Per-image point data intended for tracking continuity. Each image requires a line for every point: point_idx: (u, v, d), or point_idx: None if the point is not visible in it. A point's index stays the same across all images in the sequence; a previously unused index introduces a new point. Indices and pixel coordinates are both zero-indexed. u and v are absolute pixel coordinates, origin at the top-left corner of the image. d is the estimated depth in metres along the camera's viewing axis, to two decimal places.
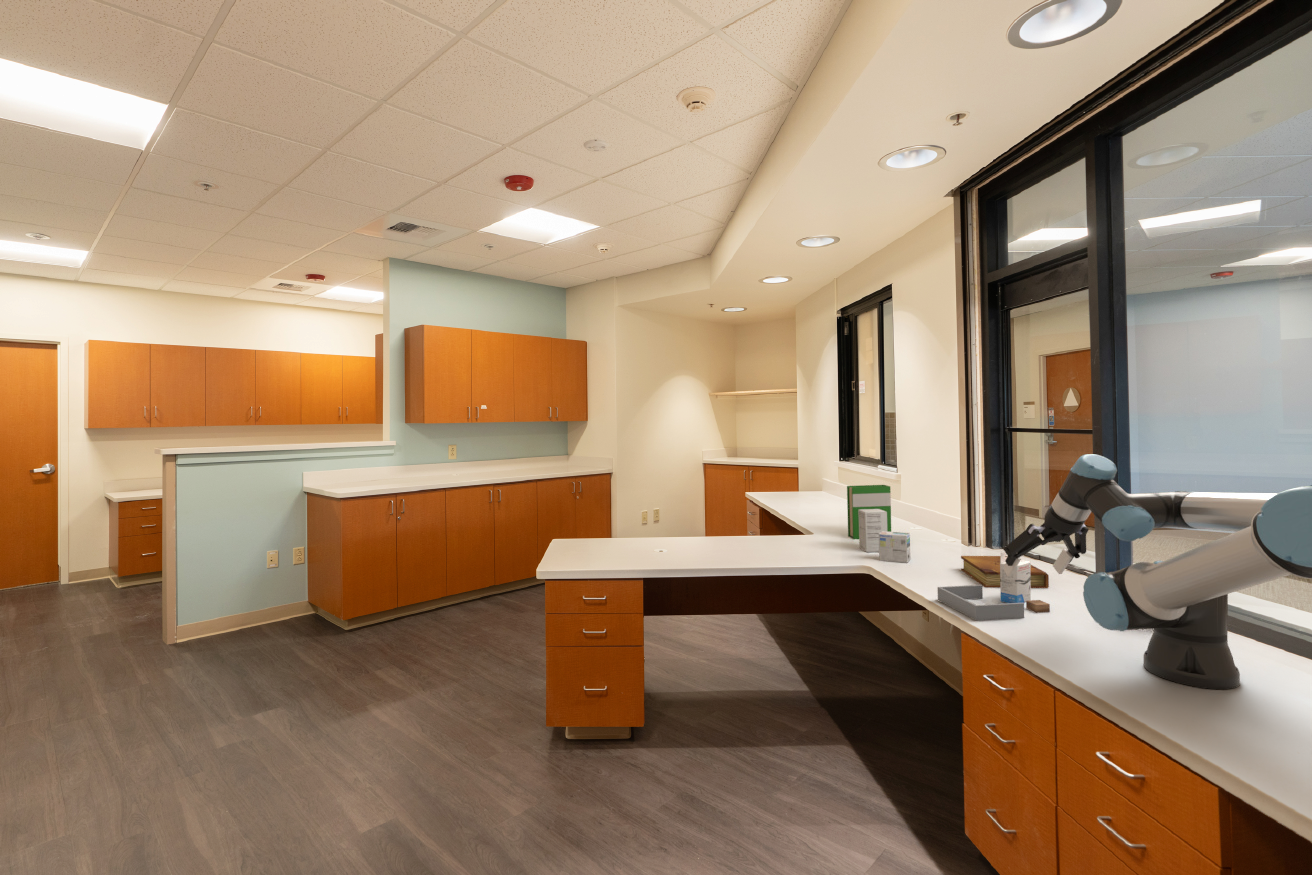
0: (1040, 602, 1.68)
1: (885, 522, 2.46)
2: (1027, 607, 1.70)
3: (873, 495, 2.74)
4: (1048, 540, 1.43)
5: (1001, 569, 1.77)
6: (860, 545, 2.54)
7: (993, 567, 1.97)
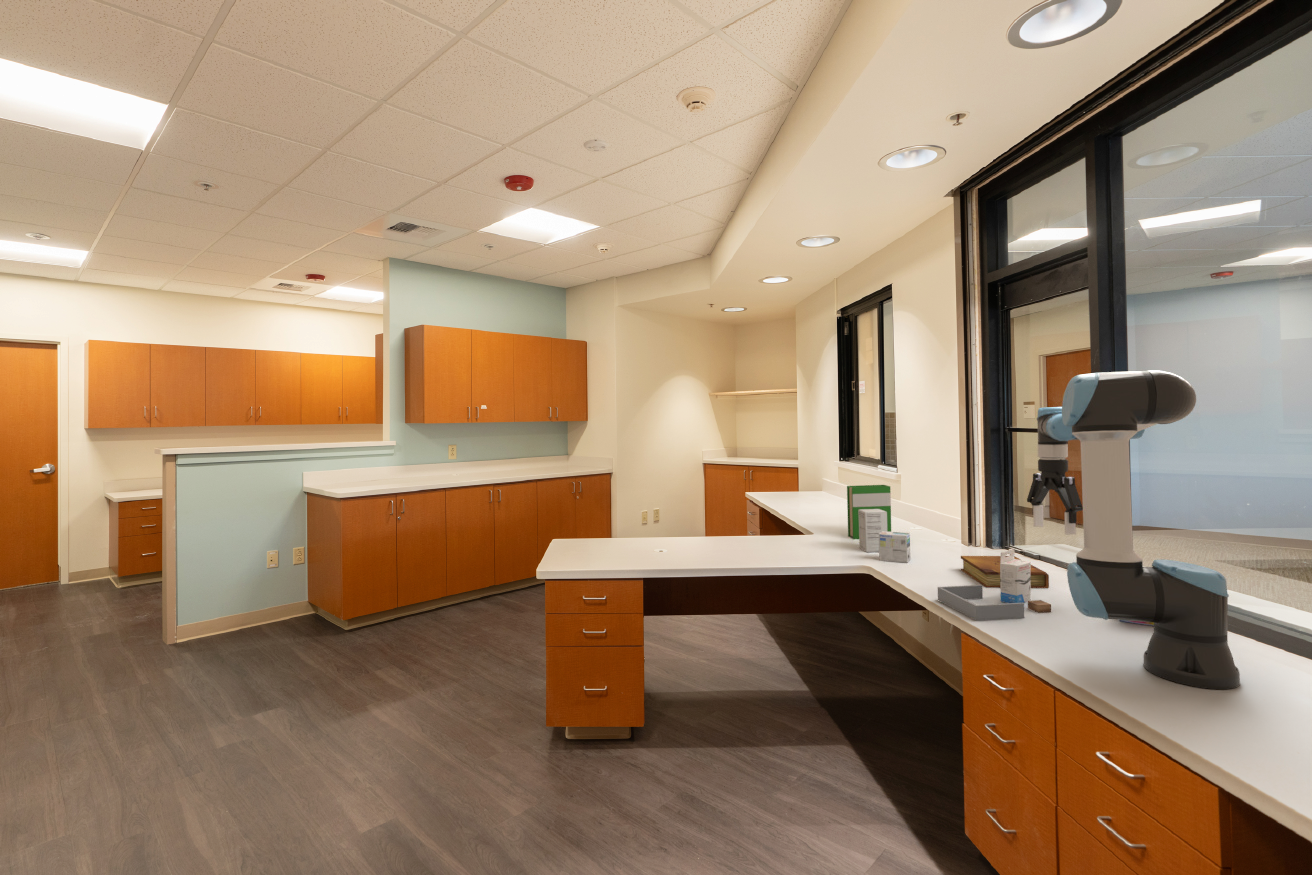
0: (1041, 602, 1.68)
1: (885, 522, 2.46)
2: (1028, 607, 1.70)
3: (873, 495, 2.74)
4: (1041, 484, 1.80)
5: (1001, 569, 1.77)
6: (860, 545, 2.54)
7: (993, 567, 1.97)
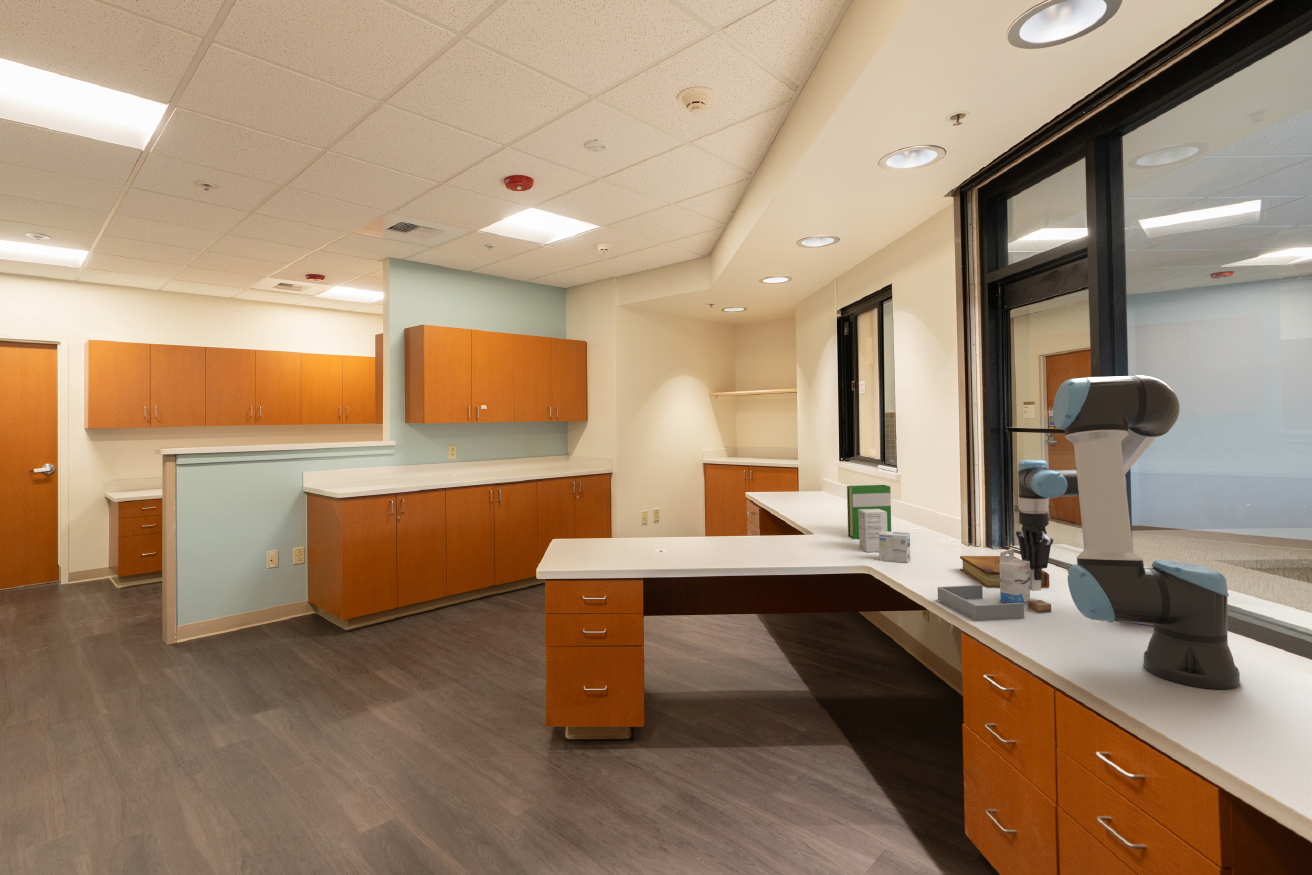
0: (1041, 602, 1.68)
1: (885, 522, 2.46)
2: (1028, 607, 1.70)
3: (873, 495, 2.74)
4: (1025, 538, 1.79)
5: (1001, 569, 1.77)
6: (860, 545, 2.54)
7: (994, 567, 1.97)
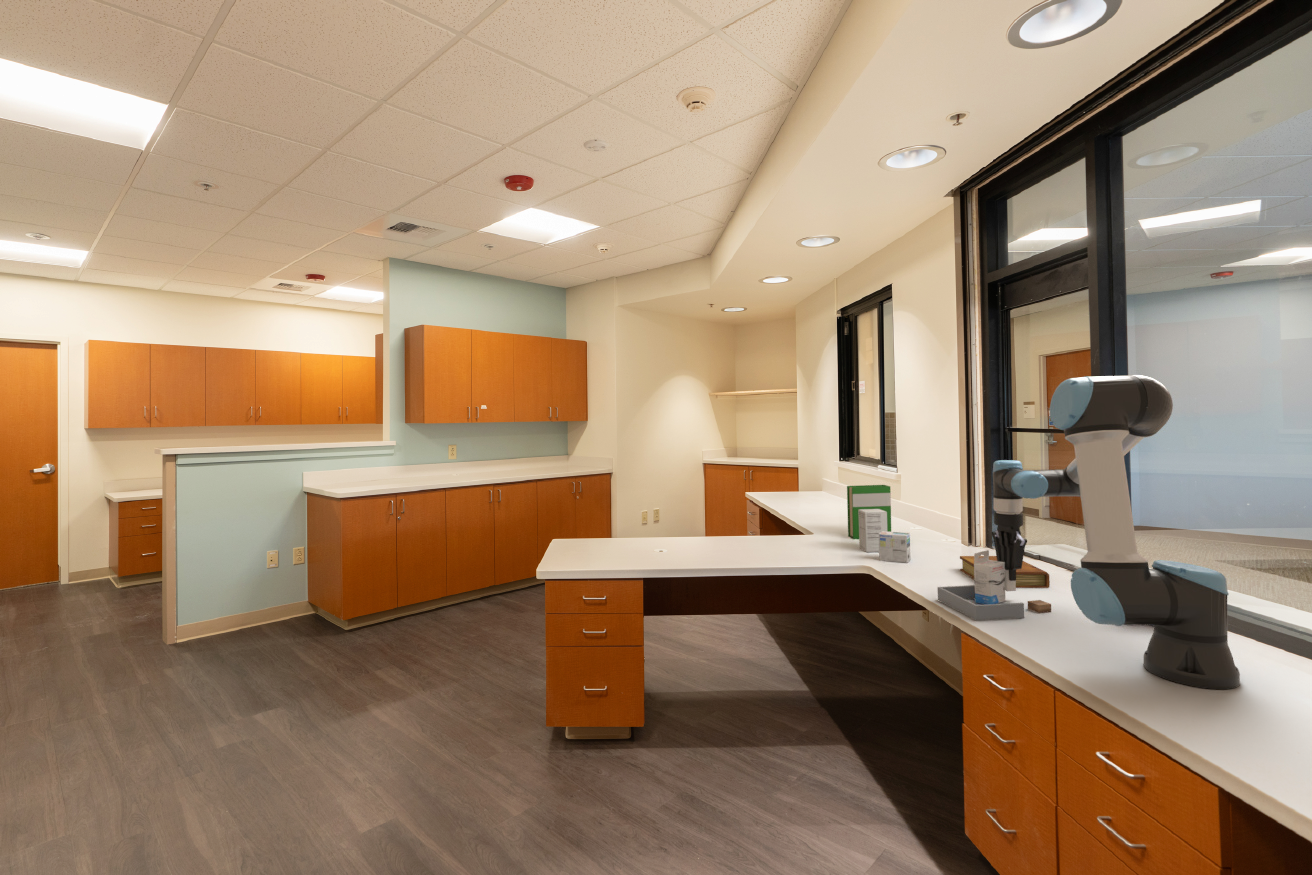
0: (1041, 602, 1.68)
1: (885, 522, 2.46)
2: (1029, 607, 1.69)
3: (873, 495, 2.74)
4: (1000, 539, 1.78)
5: (975, 570, 1.76)
6: (860, 545, 2.54)
7: None
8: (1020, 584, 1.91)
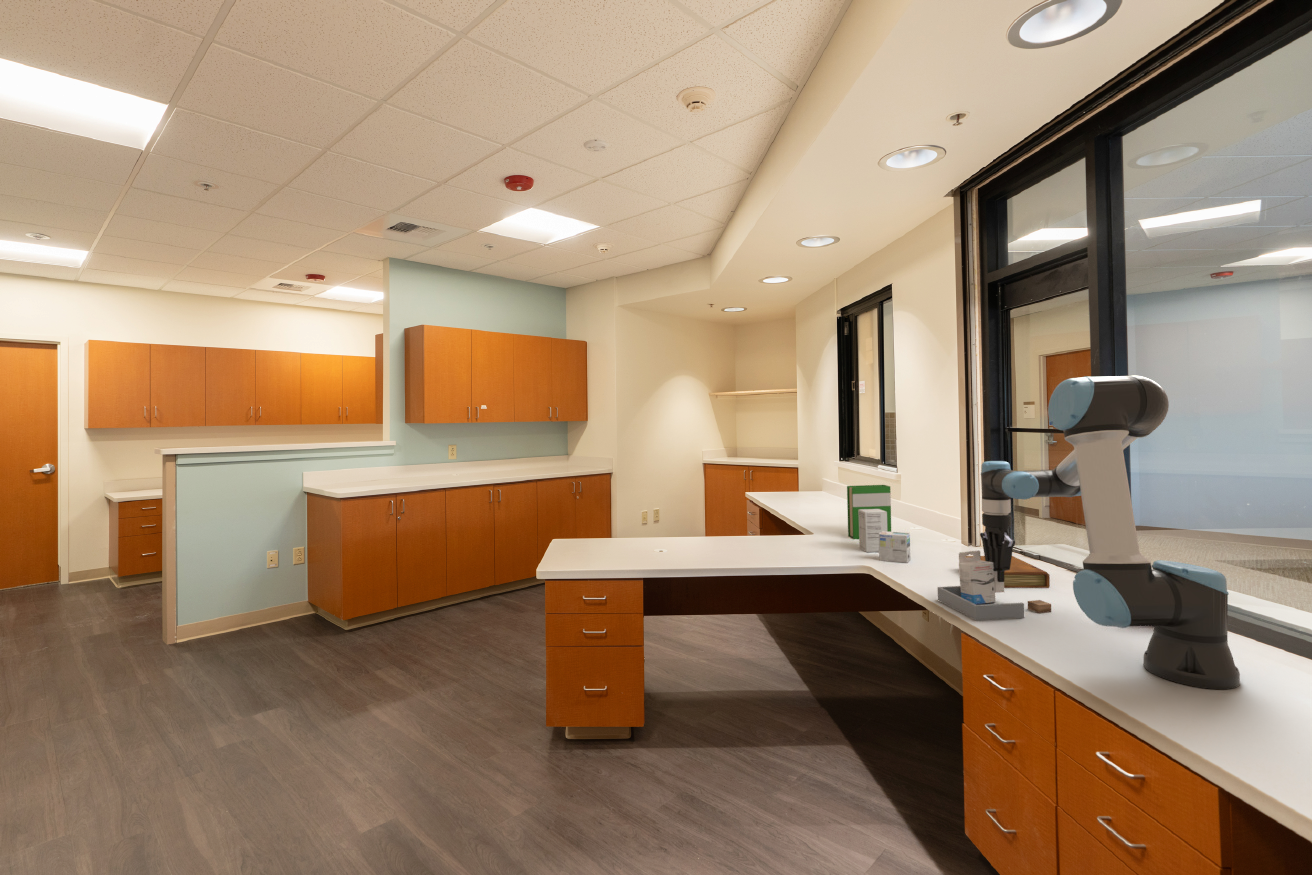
0: (1041, 602, 1.68)
1: (885, 522, 2.46)
2: (1029, 607, 1.69)
3: (873, 495, 2.74)
4: (988, 540, 1.78)
5: (960, 569, 1.78)
6: (860, 545, 2.54)
7: None
8: (1020, 584, 1.91)
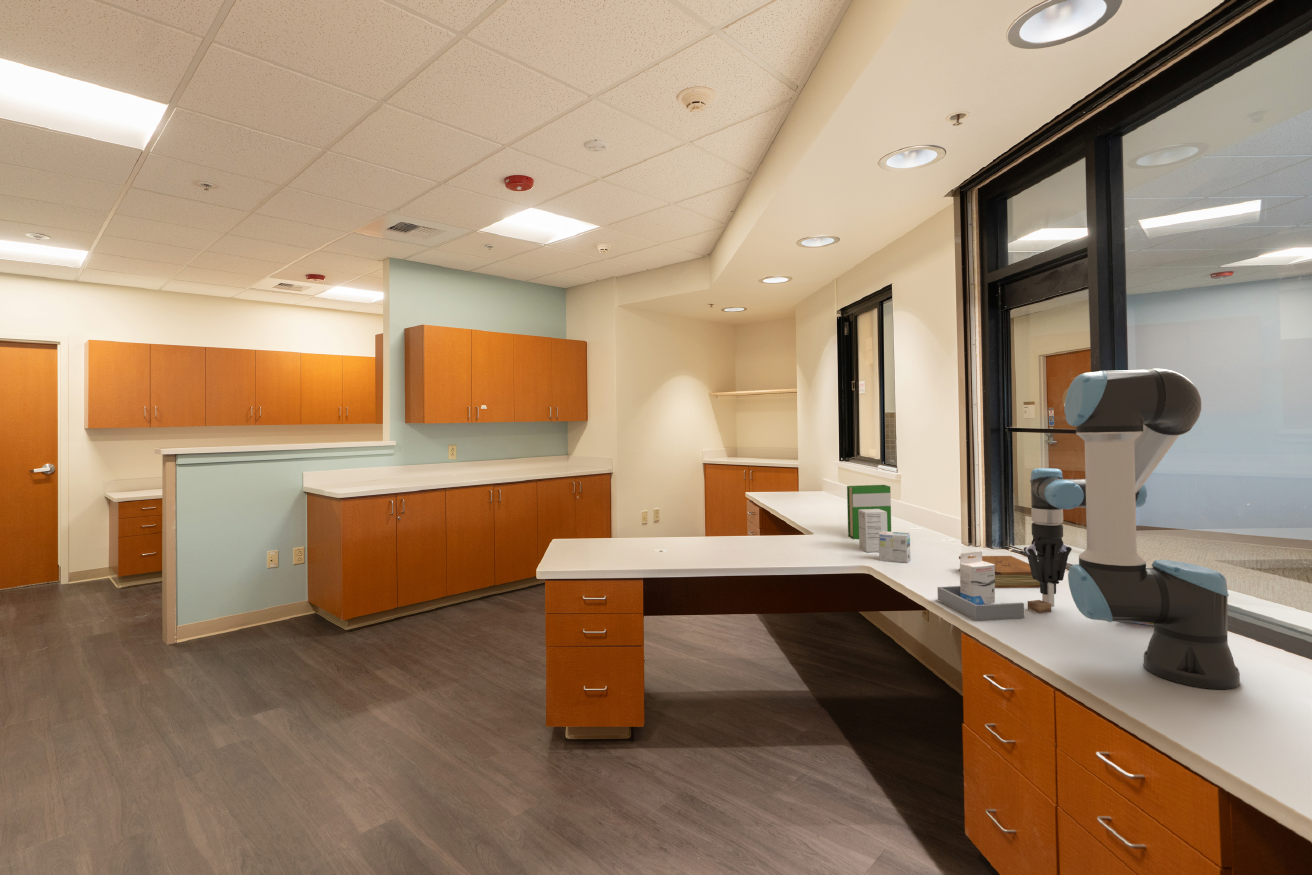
0: (1041, 602, 1.68)
1: (885, 522, 2.46)
2: (1029, 608, 1.69)
3: (873, 495, 2.74)
4: (1047, 553, 1.67)
5: (960, 569, 1.78)
6: (860, 545, 2.54)
7: (995, 567, 1.97)
8: (1021, 584, 1.91)
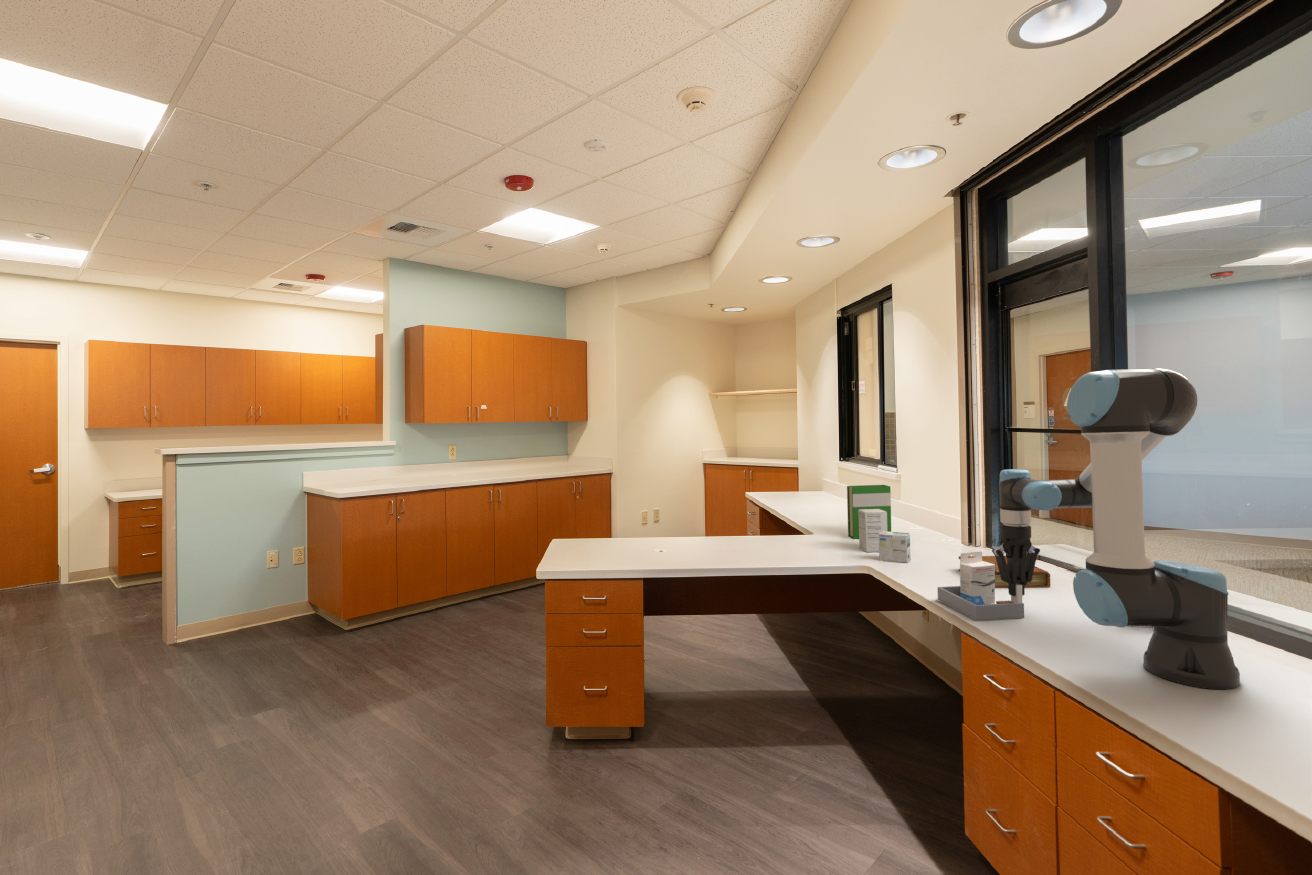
0: None
1: (885, 522, 2.46)
2: None
3: (873, 495, 2.74)
4: (1015, 554, 1.66)
5: (960, 569, 1.78)
6: (860, 545, 2.54)
7: (995, 567, 1.97)
8: None
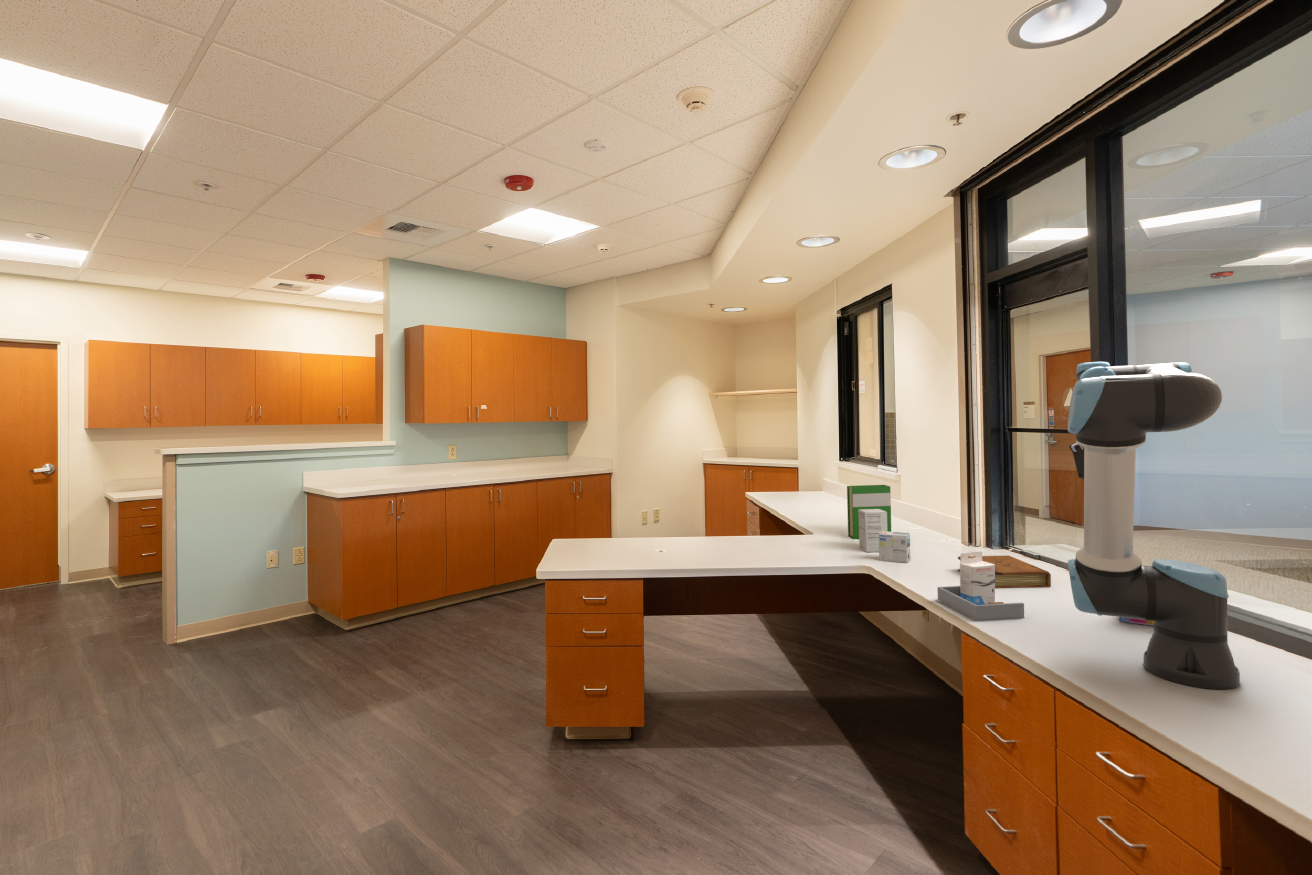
0: None
1: (885, 522, 2.46)
2: None
3: (873, 495, 2.74)
4: None
5: (960, 569, 1.78)
6: (860, 545, 2.54)
7: (996, 567, 1.96)
8: (1022, 584, 1.91)
